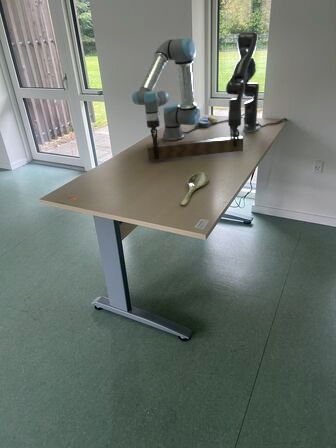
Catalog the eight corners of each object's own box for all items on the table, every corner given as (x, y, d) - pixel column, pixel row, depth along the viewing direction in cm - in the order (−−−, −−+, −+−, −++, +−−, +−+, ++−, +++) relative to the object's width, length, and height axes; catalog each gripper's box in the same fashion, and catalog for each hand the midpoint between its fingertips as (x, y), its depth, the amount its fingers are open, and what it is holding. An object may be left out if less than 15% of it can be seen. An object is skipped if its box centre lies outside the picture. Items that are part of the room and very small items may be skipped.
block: (148, 160, 207) (147, 147, 202) (148, 157, 211) (146, 145, 207) (242, 151, 208) (243, 138, 204) (240, 148, 213) (241, 135, 208)
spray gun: (219, 120, 278) (203, 120, 284) (219, 115, 276) (202, 115, 282) (211, 128, 263) (193, 127, 269) (211, 122, 261) (193, 122, 267)
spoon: (193, 209, 156) (193, 205, 155) (172, 207, 159) (171, 203, 158) (212, 175, 182) (212, 172, 181) (193, 174, 186) (193, 170, 184)
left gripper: (160, 123, 189) (163, 162, 201) (158, 115, 204) (161, 152, 216) (146, 124, 189) (151, 163, 201) (146, 116, 204) (150, 153, 216)
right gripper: (244, 119, 194) (243, 148, 203) (237, 114, 206) (237, 140, 215) (231, 121, 194) (230, 149, 202) (225, 115, 206) (225, 142, 215)
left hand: (156, 157), depth 208 cm, fingers closed on block, 5 cm apart
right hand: (234, 144), depth 209 cm, fingers closed on block, 5 cm apart
